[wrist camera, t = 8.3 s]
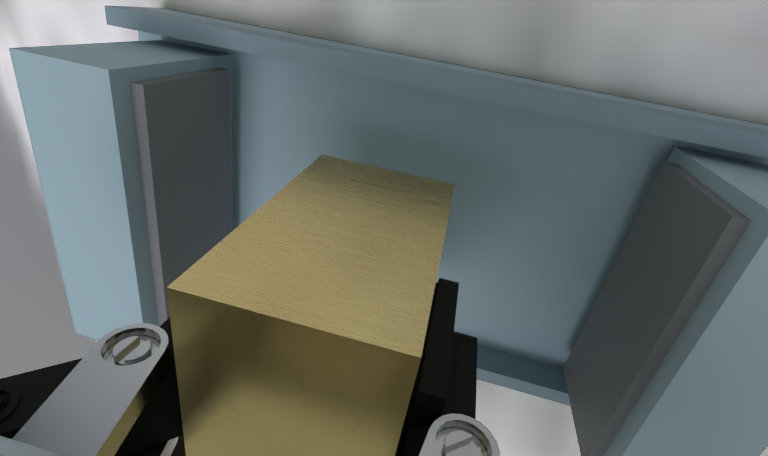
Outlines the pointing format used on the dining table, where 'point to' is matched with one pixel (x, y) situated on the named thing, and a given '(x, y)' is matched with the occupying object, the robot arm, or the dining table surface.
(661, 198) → the sliding jaw
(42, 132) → the vise
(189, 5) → the dining table surface
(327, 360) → the brass block
